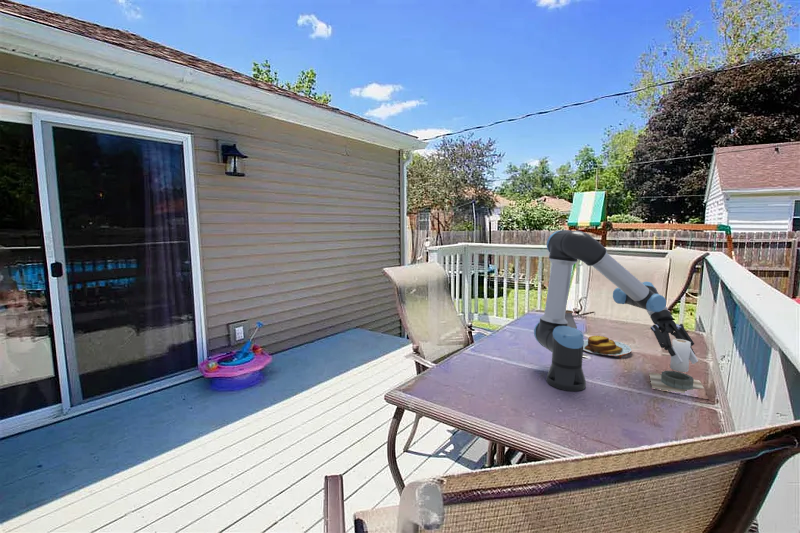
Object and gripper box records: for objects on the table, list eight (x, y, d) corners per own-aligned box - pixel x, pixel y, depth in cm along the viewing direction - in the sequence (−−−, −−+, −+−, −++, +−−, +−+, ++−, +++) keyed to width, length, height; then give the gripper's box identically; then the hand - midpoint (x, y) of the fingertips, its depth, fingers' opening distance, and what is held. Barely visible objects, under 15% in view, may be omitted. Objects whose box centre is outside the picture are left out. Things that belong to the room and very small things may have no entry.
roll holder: (708, 400, 139) (709, 389, 139) (651, 389, 149) (652, 378, 148) (699, 382, 155) (700, 372, 154) (648, 373, 164) (649, 364, 163)
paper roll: (689, 373, 147) (692, 344, 145) (671, 370, 150) (673, 341, 148) (687, 368, 152) (689, 340, 150) (669, 365, 155) (671, 337, 154)
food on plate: (634, 362, 178) (635, 349, 178) (578, 354, 189) (578, 342, 189) (628, 346, 201) (629, 335, 200) (578, 340, 212) (578, 329, 211)
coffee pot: (554, 331, 229) (555, 308, 228) (560, 327, 238) (561, 305, 236) (591, 338, 216) (593, 313, 214) (596, 333, 224) (597, 310, 223)
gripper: (673, 317, 165) (703, 365, 150) (634, 318, 163) (659, 367, 149) (684, 308, 159) (716, 358, 144) (643, 309, 157) (671, 359, 143)
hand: (687, 362), depth 147 cm, fingers closed on paper roll, 6 cm apart
